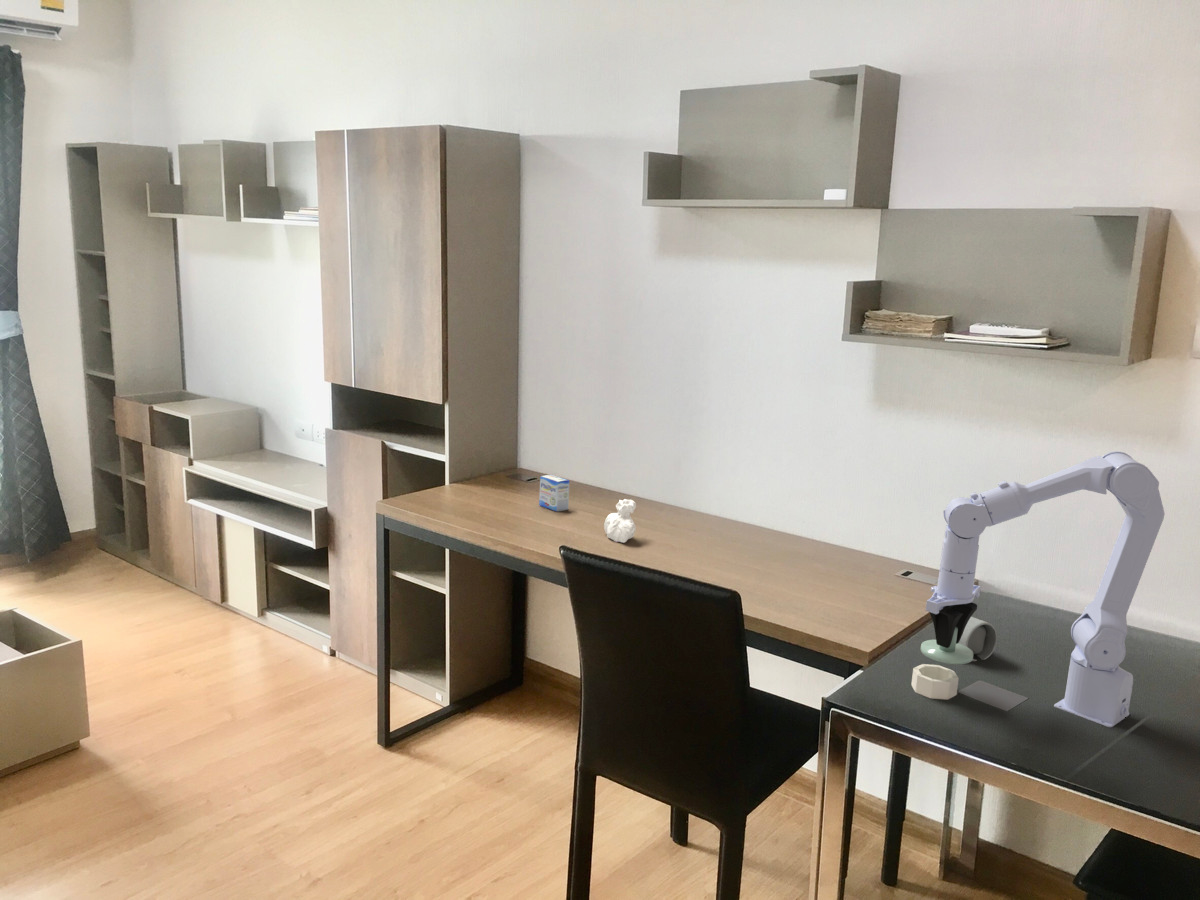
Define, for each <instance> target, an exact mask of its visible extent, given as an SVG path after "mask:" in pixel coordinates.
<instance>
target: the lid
mask: <svg viewBox="0 0 1200 900" xmlns="http://www.w3.org/2000/svg"><path fill="white" fill-rule="evenodd" d="M957 633H958V628H957V627H955V630H954V634H953V638H952V642H951V645H950V647H949V648H945V647H942V646H940V645H937V643H936V638H935V639H928V640H925V641H922V642H921V645H920V652H921V653H922V655H923V656H925V657H926V658H928V659H931V660H933V661H936V662H938V663H943V664H947V665H948V664H949V665H965V664H969V663H971V662H973V661H972V660H973V659H974V654H973V651H972V650H971V649H969V648H968V647H966V646H964V645H962V644H959V643H957V644H956V640H957Z"/></svg>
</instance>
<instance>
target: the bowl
mask: <svg viewBox="0 0 1200 900" xmlns="http://www.w3.org/2000/svg"><path fill="white" fill-rule="evenodd" d="M910 684H911V687H912V689H913V691H914V692H915V693H917V695H918V694H919V695H921V696H924V697H926V698H929V699H935V700H950V699H952V698H954V697H955V696H957V695H958V693H957V692H958V685H959V676H958V675H957V674H956V672H955V671H954V670H952V669H950V668H947V667H944V666H942V665H939V664H927V663H926V664H925V663H922V664H919V665H917V666H915V667H913V668H912V677H911V683H910Z"/></svg>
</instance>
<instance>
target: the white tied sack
mask: <svg viewBox="0 0 1200 900" xmlns="http://www.w3.org/2000/svg"><path fill="white" fill-rule="evenodd" d="M636 507H637V503H636V502H635V501H634V500H633V499H627V498H624V499H623V500H622V499H619V500H618V503H616V504H615V508H616V510H617V512H611V513H610V514H608V515H607V517H606V518H605V520H604V524H603V528H604V532H605V534H606V537H607V538H609V539H610V540H612V541H614V542H616V543H617V542H619V543H623V544H624V543H626V542H627V541H628V540H630V539H632V538H634V536H635V531H636V530H637V528H636V524H635V522H634V519H632V517H631V514H634V511H635V509H636Z"/></svg>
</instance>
